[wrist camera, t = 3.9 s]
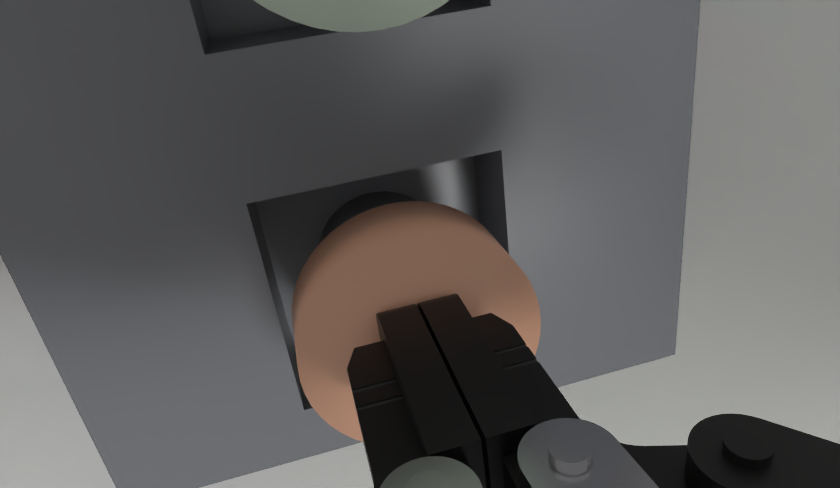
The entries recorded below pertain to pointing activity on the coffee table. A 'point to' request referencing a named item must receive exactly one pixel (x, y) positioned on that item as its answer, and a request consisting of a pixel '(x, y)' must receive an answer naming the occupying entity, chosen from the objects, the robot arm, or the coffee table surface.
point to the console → (321, 194)
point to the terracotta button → (394, 287)
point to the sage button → (352, 12)
